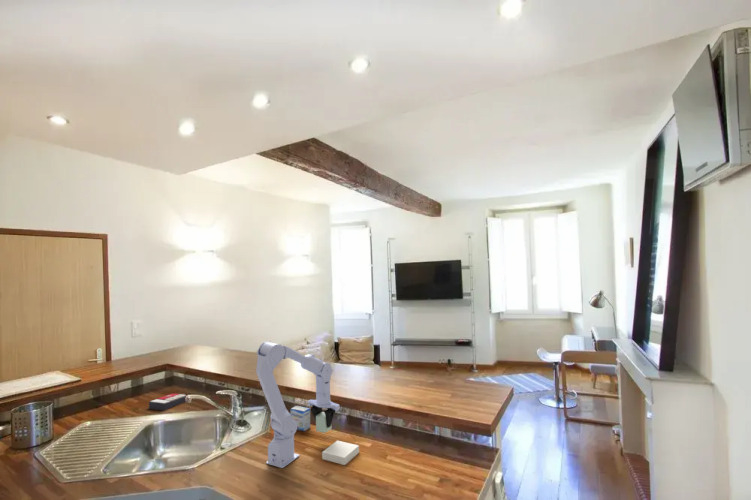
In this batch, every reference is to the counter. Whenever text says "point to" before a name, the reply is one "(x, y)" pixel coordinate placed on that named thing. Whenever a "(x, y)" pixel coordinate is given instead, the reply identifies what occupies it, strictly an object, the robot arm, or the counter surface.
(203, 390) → the counter surface
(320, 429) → the sage block
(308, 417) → the medicine box
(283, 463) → the robot arm
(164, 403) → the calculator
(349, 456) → the white block
